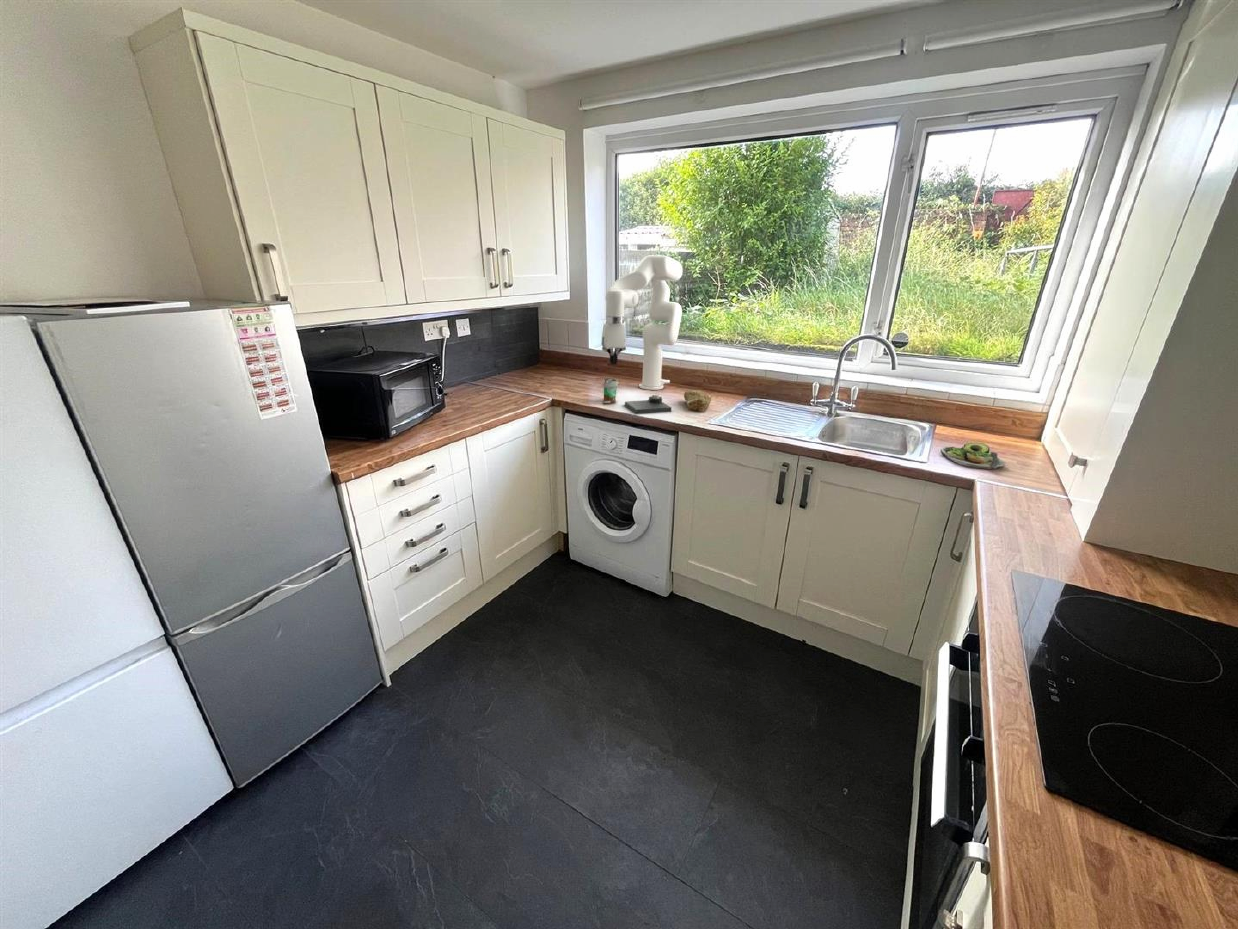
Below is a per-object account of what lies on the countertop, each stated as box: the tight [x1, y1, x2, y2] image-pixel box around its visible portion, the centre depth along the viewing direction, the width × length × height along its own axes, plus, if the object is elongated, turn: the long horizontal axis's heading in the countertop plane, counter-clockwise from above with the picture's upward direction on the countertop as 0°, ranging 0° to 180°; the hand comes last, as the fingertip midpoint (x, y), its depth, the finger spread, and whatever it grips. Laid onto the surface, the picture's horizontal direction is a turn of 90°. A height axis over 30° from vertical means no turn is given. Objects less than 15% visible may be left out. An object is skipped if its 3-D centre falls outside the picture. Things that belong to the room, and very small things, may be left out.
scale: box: [624, 395, 672, 415], centre depth 215 cm, size 16×14×4 cm
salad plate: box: [940, 442, 1007, 470], centre depth 165 cm, size 19×18×5 cm
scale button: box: [651, 393, 660, 399], centre depth 220 cm, size 3×3×2 cm
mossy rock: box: [683, 389, 712, 412], centre depth 221 cm, size 13×8×20 cm
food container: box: [603, 377, 619, 406], centre depth 222 cm, size 12×6×10 cm, turn 179°
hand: (613, 364), depth 217 cm, fingers closed
